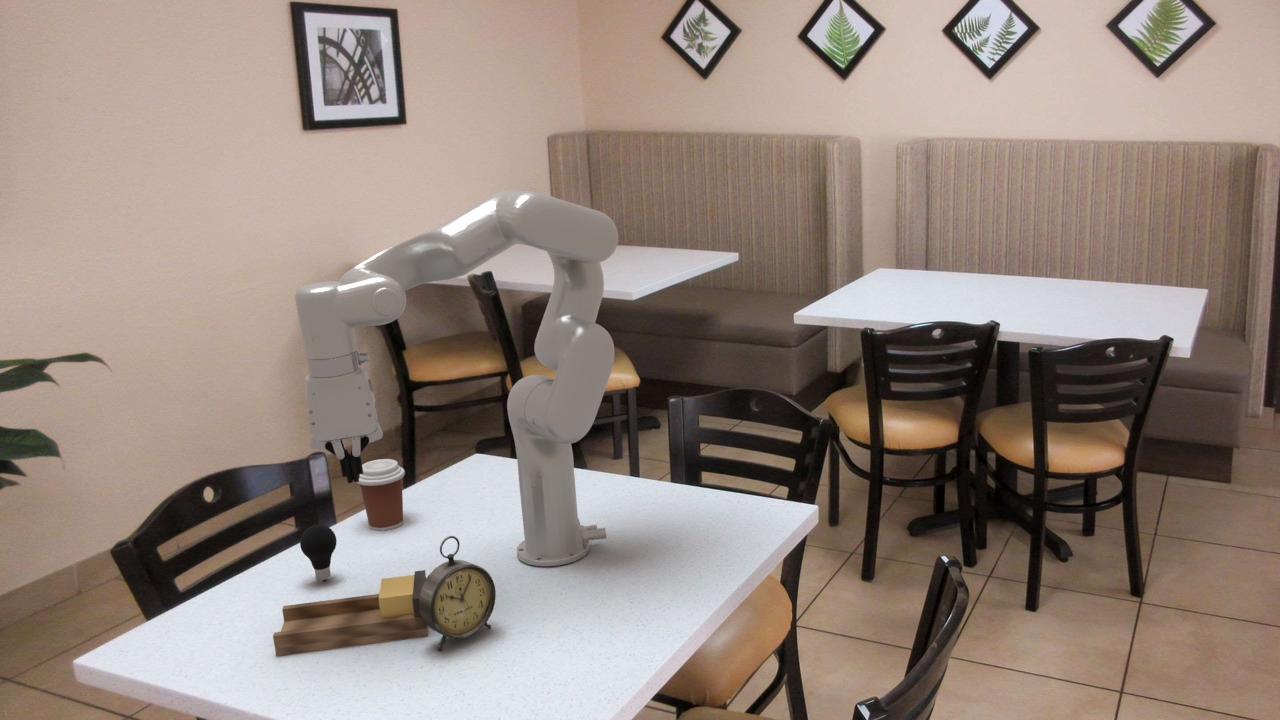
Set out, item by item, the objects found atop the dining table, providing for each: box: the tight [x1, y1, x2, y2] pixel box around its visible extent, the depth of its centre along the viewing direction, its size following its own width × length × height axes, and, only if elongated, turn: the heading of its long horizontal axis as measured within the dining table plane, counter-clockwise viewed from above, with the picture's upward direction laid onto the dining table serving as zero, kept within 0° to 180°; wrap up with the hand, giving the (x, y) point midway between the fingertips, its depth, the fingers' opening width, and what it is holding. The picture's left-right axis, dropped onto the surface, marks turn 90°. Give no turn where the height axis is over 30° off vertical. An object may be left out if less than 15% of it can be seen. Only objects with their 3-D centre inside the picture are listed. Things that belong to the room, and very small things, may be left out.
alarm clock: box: [419, 535, 497, 652], centre depth 160 cm, size 11×5×16 cm, turn 131°
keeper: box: [378, 574, 415, 618], centre depth 167 cm, size 5×7×5 cm
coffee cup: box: [356, 458, 406, 532], centre depth 207 cm, size 9×9×12 cm
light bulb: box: [299, 524, 338, 582], centre depth 184 cm, size 6×6×10 cm
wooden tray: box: [272, 569, 429, 657], centre depth 166 cm, size 22×10×6 cm, turn 99°
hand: (353, 479), depth 168 cm, fingers closed
